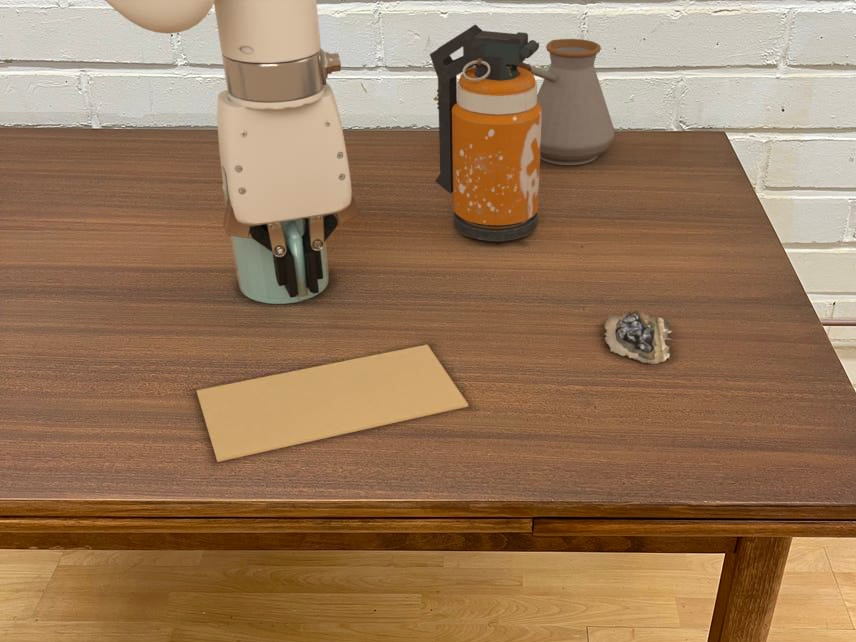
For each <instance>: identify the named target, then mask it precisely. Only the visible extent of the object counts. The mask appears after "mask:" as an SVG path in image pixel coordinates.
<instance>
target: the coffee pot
mask: <svg viewBox="0 0 856 642" xmlns="http://www.w3.org/2000/svg"><path fill="white" fill-rule="evenodd" d="M545 49H546V50H547V52H548V53H549V58H550V65H549V68H548V70H544V69H541V68H538V67H535V66H531V65H530V64H528V63H526V62H524V61H523V62H522V63H521V64H520V65H517V67H520V68H523V69H526V70H528V71H529V72H531V73H532V74H533V75H534V77H535V76H536V77H537V78H540V79H543V81H542V83H541V86H540V88H539V90H538V91H537V103H538V104H539V105H540V106H541V108H542V122H541V145H540V160H541V161H543V162H547V163H549V164H555V165H558V166H559V165H560V166H577V165H585V164H589V163H590V162H593V161H595V160H596V159H598V156H599V155H602V154H603V153H604V152H605V151H606V150H607V149H608V148H609V147H610V146H611V144H612V142H613V140H614V138H615V134H616V132H615V131H616V130H615V128H614V125H613V121H612V117H611V115H610V111H609V108H608V105H607V102H606V99H605V96H604V93H603V90H602V87H601V83H600V81H599V77H598V74H597V70H596V67H595V62H596V57H597V54H599V53H600V52H601V50H602V47H601V45H600V44H599V43H597V42H596V41H593V40H589V39H582V38H560V39H552V40H551V41H549V42H548V43H547V44H546V46H545ZM511 66H512V65H511ZM473 67H474V66H473ZM473 67H471V68H473Z"/></svg>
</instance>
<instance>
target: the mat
mask: <svg viewBox="0 0 856 642" xmlns="http://www.w3.org/2000/svg"><path fill="white" fill-rule="evenodd" d="M196 394H197V395H196V396H197V399H198V401H199V405H200V408H201V412H202V415H203V418H204V422H205V426H206V429H207V432H208V435H209V439H210V442H211V445H212V449H213V451H214V455H215V459H216V461H217V463H220V462H224V461H225V462H226V461H228V460H233V459H238V458H239V459H240V458H243V457H247V456H252V455H256V454H261V453H265V452H269V451H274V450H275V451H276V450H279V449H284V448H287V447H292V446H297V445H301V444H307V443H310V442H315V441H319V440H324V439H328V438H334V437H338V436H341V435H346V434H350V433H351V434H352V433H357V432H361V431H364V430H370V429H373V428H378V427H383V426H387V425H393V424H396V423H401V422H405V421H410V420H415V419H419V418H423V417H428V416H432V415H437V414H442V413H446V412H450V411H456V410H460V409H465V408H468V407H469V403H468V401H467V400H466V399H465V397H464V396H463V394H462V393H461V392H460V390H459V388H458V387H457V386H456V384H455V382H454V381H453V379H452V378H451V376H450V375H449V374H448V372H447V371H446V369H445V368H444V366H443V365H442V363H441V362H440V361H439V359H438V358H437V356H436V355H435V353H434V352H433V351H432V349H431V347H430V346H429V344H424V345H423V344H422V345H418V346H414V347H408V348H402V349H398V350H394V351H393V350H392V351H387V352H383V353H377V354H372V355H367V356H363V357H357V358H352V359H348V360H347V359H346V360H343V361H337V362H333V363H327V364H322V365H317V366H313V367H308V368H302V369H298V370H293V371H288V372H287V371H286V372H281V373H277V374H272V375H267V376H262V377H261V376H260V377H256V378H251V379H247V380H242V381H237V382H232V383H227V384H221V385H216V386H210V387H208V388H207V387H205V388H201V389H196Z"/></svg>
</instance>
